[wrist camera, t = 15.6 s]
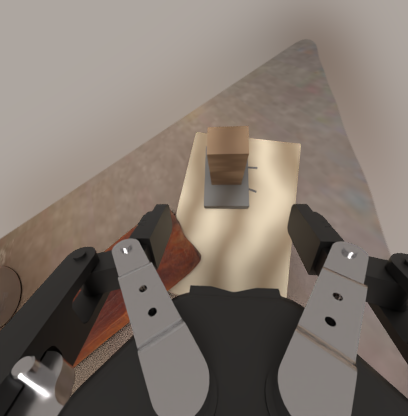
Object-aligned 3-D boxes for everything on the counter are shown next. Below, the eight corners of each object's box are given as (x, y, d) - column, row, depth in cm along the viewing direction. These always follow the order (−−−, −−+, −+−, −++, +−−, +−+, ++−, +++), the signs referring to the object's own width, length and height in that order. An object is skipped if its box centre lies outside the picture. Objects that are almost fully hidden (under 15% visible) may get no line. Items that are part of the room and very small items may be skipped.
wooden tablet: (166, 203, 27) (162, 200, 26) (208, 259, 24) (205, 259, 22) (22, 319, 27) (9, 323, 25) (45, 392, 23) (31, 401, 22)
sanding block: (204, 208, 26) (194, 183, 17) (206, 151, 28) (198, 103, 19) (247, 208, 26) (261, 183, 16) (246, 151, 28) (257, 100, 19)
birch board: (161, 287, 26) (157, 289, 24) (197, 137, 31) (196, 132, 29) (280, 316, 23) (284, 321, 22) (297, 149, 29) (301, 143, 27)
